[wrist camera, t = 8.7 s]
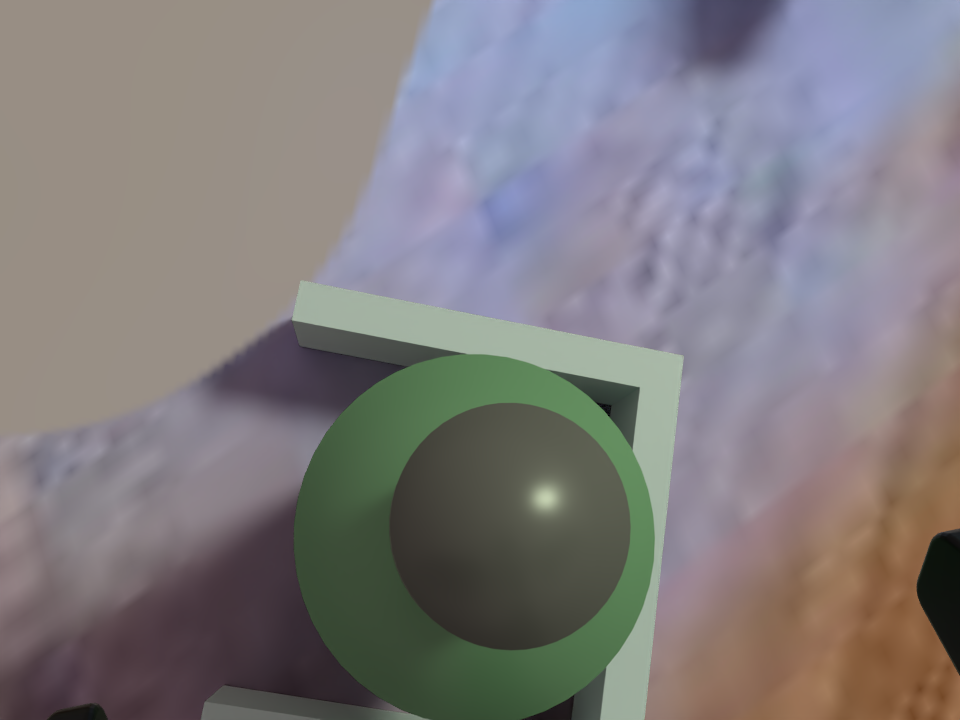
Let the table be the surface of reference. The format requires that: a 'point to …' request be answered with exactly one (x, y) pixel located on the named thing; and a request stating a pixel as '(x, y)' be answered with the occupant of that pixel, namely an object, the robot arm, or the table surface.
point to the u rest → (578, 359)
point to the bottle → (474, 539)
